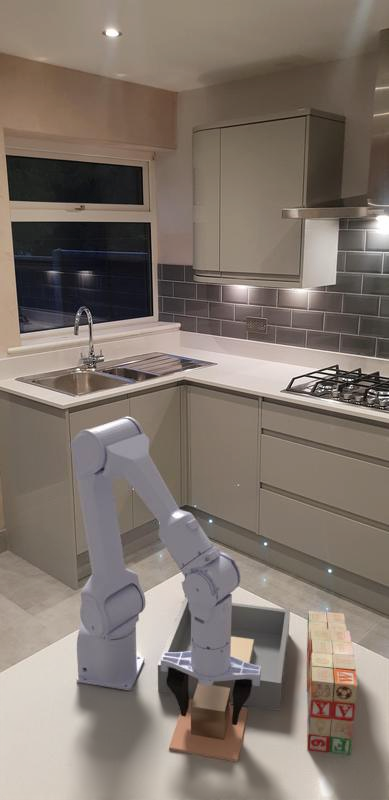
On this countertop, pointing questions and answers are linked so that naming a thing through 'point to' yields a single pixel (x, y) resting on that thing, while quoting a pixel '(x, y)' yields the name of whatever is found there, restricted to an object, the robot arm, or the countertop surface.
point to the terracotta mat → (206, 745)
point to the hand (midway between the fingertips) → (209, 715)
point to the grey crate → (242, 649)
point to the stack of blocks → (330, 684)
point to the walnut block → (210, 711)
